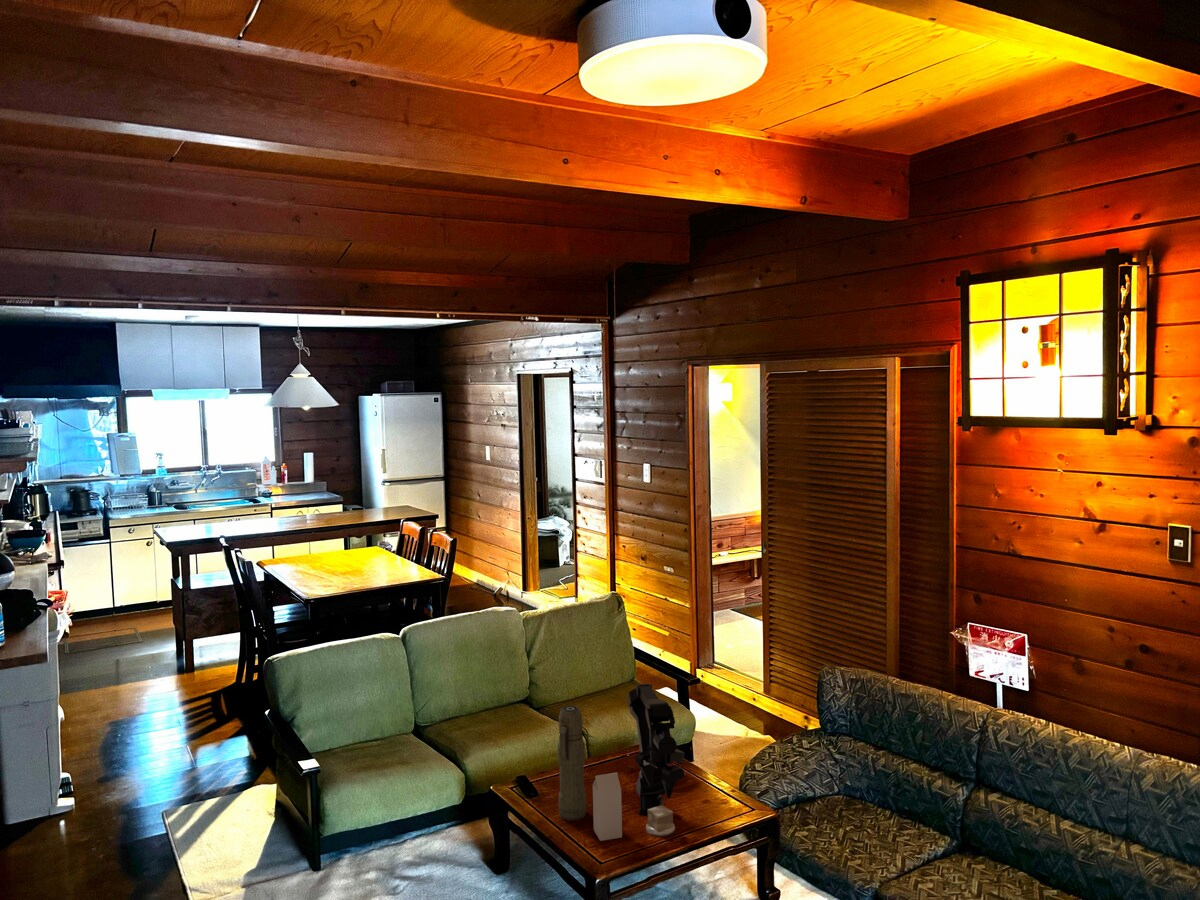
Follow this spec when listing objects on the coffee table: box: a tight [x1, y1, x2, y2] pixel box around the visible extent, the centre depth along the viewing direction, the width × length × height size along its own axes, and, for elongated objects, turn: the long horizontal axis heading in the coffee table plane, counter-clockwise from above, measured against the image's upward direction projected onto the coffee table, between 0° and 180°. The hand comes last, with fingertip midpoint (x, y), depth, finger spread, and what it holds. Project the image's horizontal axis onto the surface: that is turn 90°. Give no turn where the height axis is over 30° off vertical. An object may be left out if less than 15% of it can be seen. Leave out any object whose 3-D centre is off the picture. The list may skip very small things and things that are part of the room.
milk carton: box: [592, 772, 623, 842], centre depth 274 cm, size 7×7×19 cm
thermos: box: [557, 705, 587, 821], centre depth 287 cm, size 9×12×35 cm
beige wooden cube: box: [647, 804, 674, 832], centre depth 277 cm, size 6×6×5 cm
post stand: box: [645, 822, 676, 837], centre depth 277 cm, size 9×9×4 cm
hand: (659, 792), depth 276 cm, fingers open, 9 cm apart
